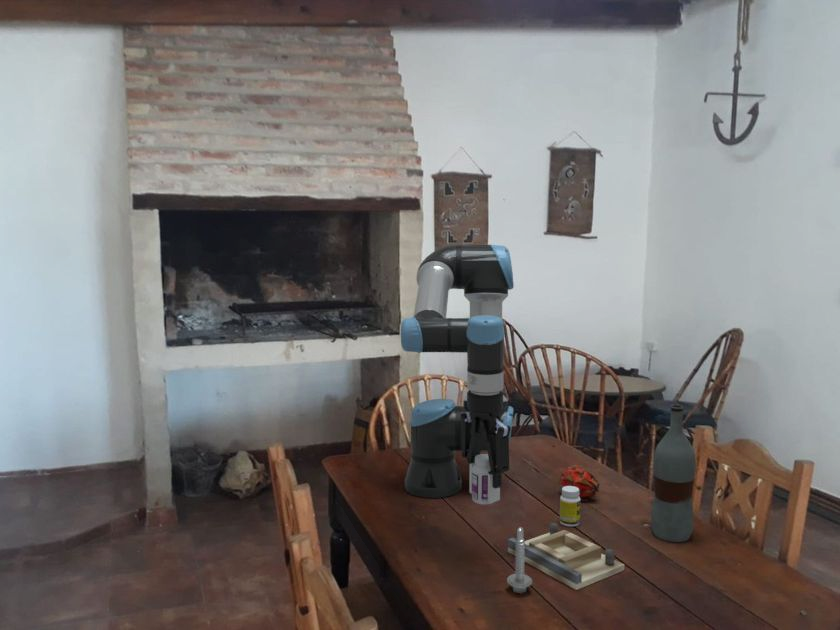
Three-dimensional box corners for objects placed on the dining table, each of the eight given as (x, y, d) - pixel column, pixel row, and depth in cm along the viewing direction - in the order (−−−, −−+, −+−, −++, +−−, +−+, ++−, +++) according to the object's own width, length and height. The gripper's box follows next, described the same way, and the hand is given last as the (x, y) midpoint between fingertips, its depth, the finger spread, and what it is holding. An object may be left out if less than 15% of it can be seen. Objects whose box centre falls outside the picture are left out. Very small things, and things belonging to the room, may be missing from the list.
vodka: (701, 541, 168) (707, 410, 164) (662, 545, 167) (667, 412, 162) (679, 524, 177) (685, 399, 173) (643, 527, 176) (647, 401, 171)
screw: (509, 596, 145) (504, 584, 150) (534, 595, 146) (528, 583, 150) (510, 532, 143) (505, 522, 148) (535, 531, 144) (529, 521, 148)
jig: (507, 552, 164) (508, 534, 163) (554, 535, 172) (554, 519, 171) (576, 590, 148) (576, 570, 147) (624, 570, 156) (624, 551, 155)
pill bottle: (499, 496, 163) (499, 454, 161) (493, 506, 158) (494, 462, 156) (475, 493, 165) (475, 451, 163) (468, 503, 160) (468, 459, 158)
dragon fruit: (562, 493, 201) (595, 514, 192) (545, 481, 196) (579, 503, 186) (578, 466, 202) (613, 485, 193) (562, 453, 197) (597, 473, 187)
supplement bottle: (580, 527, 176) (580, 493, 175) (559, 526, 177) (560, 491, 176) (579, 519, 181) (580, 485, 179) (559, 518, 182) (560, 484, 180)
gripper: (444, 384, 163) (444, 486, 167) (500, 403, 148) (499, 515, 152) (471, 379, 167) (471, 479, 171) (529, 397, 152) (527, 506, 156)
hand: (484, 496), depth 161 cm, fingers closed on pill bottle, 5 cm apart
